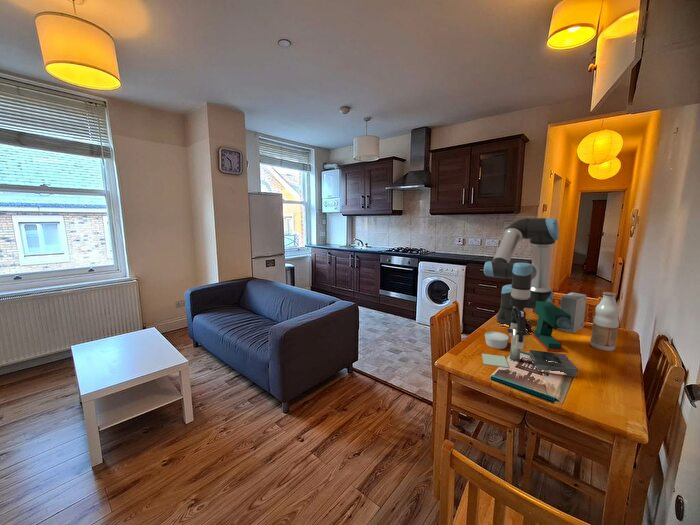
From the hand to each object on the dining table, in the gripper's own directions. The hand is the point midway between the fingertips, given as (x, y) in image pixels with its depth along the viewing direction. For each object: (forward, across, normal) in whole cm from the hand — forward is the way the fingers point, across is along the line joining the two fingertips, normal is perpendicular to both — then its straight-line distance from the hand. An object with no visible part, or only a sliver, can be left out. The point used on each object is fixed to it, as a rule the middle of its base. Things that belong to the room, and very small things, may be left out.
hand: (516, 342), depth 133 cm
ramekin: (+9, -14, -6) cm, 18 cm away
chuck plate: (+9, +2, +14) cm, 17 cm away
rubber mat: (+9, +4, -9) cm, 13 cm away
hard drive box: (+8, -50, +38) cm, 64 cm away
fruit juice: (+8, -27, +44) cm, 53 cm away
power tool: (+9, -17, +20) cm, 28 cm away
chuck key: (+9, 0, 0) cm, 9 cm away
